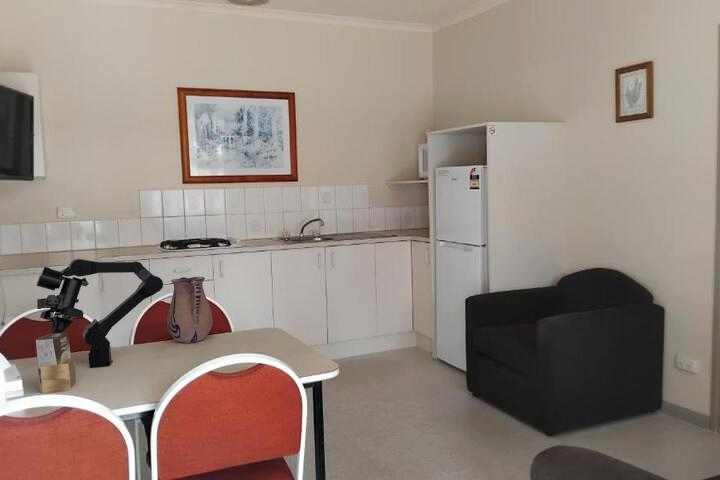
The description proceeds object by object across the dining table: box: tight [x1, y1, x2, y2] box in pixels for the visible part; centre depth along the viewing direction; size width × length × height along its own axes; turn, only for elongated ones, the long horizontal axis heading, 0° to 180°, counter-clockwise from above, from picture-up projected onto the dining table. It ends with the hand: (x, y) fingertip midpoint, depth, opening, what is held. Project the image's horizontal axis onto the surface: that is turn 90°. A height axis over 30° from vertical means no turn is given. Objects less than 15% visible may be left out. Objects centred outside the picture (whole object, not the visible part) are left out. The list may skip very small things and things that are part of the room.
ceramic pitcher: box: [166, 276, 214, 344], centre depth 244 cm, size 18×21×25 cm
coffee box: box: [35, 332, 71, 393], centre depth 189 cm, size 9×6×16 cm
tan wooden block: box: [40, 357, 77, 394], centre depth 188 cm, size 8×9×8 cm
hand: (53, 339), depth 202 cm, fingers closed
